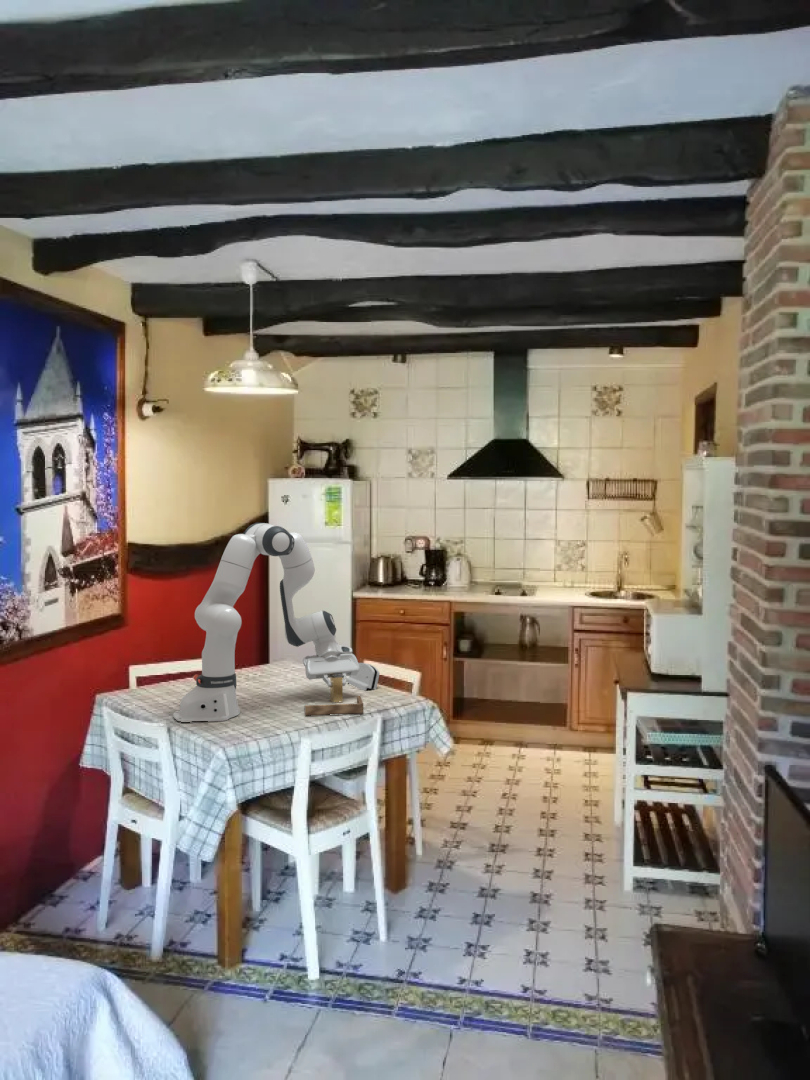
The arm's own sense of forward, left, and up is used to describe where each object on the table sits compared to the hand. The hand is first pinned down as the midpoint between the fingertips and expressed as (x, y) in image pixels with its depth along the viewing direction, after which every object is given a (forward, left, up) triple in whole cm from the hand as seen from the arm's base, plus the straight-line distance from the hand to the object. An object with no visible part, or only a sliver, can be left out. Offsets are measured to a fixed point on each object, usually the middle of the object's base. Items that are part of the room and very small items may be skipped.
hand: (337, 685), depth 318 cm
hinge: (+17, +20, -6) cm, 27 cm away
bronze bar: (0, +1, -6) cm, 6 cm away
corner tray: (-5, -11, -6) cm, 14 cm away
